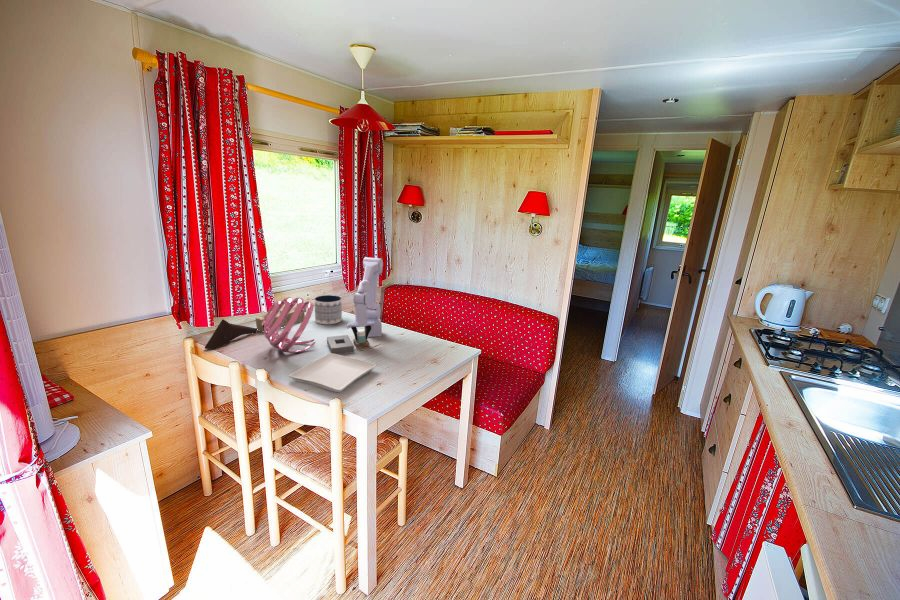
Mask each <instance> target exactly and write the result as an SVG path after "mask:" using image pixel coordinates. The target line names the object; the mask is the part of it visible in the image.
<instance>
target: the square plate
mask: <svg viewBox="0 0 900 600" xmlns="http://www.w3.org/2000/svg"><path fill="white" fill-rule="evenodd" d="M376 366H377V364H376V363H373V362H369V361H366V360H363V359H362V360H361V359H358V358H354V357H351V356H346V355H343V354H333V353H331V352H329V353H326V354H325V355H323V356H320V357H319V358H317V359H315V360H314V361H311V362H310V363H308V364H306V365H304V366H302V367H300V368H299V369H297V370H295V371H293V372H291V373H290V374H288V375H287V377H289V378H290V379H293V380H295V381H296V382H300V383H304V384H308V385H312V386H316V387H319V388H322V389H325V390H329V391H331V392H335V393H340V392H342V391H343V390H345V389H346V388H348V387H349V386H350V385H352V384H353V383H355V382H356V381H357V380H359V379H360V378H362V377H363V376H365V375H366V374H368V373H369V372H371V371H372V370H373V369H375V368H376Z"/></svg>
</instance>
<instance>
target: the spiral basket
mask: <svg viewBox="0 0 900 600" xmlns="http://www.w3.org/2000/svg"><path fill="white" fill-rule="evenodd" d="M293 307H296V308H295V311H294V313H293V315H292V317H291V318H290V320H289V322H288V324H287V325H286V327H283V330H282V331H281V333H280V334H279V330H280V329H281V328H280V327H281V325H282V323H283V321H284V320H285V318H286V317H287V315H288V314H289V312H290V311H291V309H292V308H293ZM305 309H306V312H305V313H306V314H305V317H304V319H303V321H301V322H300V325H299V327H298V329H297V330H296V332H295V334H294V335H293V336H292V337H291V338H288V337H289V334H290V333H291V330H292V329H293V326H294V325H295V324H296V323H295V322H296V320H297V319H298V317H299V316H300V314H301V313H302V312H303V311H304V310H305ZM280 311H282V312H281V313H280ZM313 311H314V303H312V301H309V300H307V301H305V302H304V299H303V298H302V297H300V296H299V297H298V296H297V297H296V298H294V299H293V297H290V296H288V297H285V298H284V299H283V300H282V301H281V300H280V299H279V300H277V301H275V302H274V303H273V304H272V306H270V307H269V309H268V311H267V312H266V314H265V315H263V316H264V319H263V323H262V327H263V329H264V332H263V336H264V338H265V339H266V340H267V341H268V342H269V345H270V346H271V347H272V348H275V349H277V350H278V351H280V352H282V353H287V354H298V353H302V352H305V351H308V350H310V348H312V347H313V346H314V345H315V343H316V341H315V339H310V340H299V338H300V337H301V335H302V334H303V333H304V331H305V329H306V327H307V325H308V324H309V321H310V319H311V318H312V314H313ZM278 313H280V315H279V317H278V318H277V320H276V322H275V323H274V325H273V326H272V327H271V328H270V326H271V324H272V322H273V320H274V319H275V317H276V315H277V314H278ZM269 314H270V315H269ZM268 316H269V317H268ZM294 323H295V324H294ZM312 342H313V343H312ZM309 343H311V344H310V345H309V346H307V347H305V348H303V349H300V350H291V349H292V348H293V347H294V345H305V344H309ZM285 344H286V345H285Z"/></svg>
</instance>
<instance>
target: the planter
mask: <svg viewBox="0 0 900 600" xmlns="http://www.w3.org/2000/svg"><path fill="white" fill-rule="evenodd" d="M313 301H314V303H313V305H314V322H316V323H317V324H321V325H334V324H338V323H340V322H341V321H342V320H343V317H342V316H343V310H342V308H343V307H342V297H341V296H339V295H334V294H325V295H319V296H316V297H315V298H314V300H313Z"/></svg>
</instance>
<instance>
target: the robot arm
mask: <svg viewBox="0 0 900 600" xmlns="http://www.w3.org/2000/svg"><path fill="white" fill-rule="evenodd" d="M362 266H363V270H364V273H363V279H362V280H360V281H359V284H358V287H357V291H356V292H355V293H354V294H353V307H354V308H355V309H354V310H355V321H354V322H351V323H347V324H346V329H351V330H352V332H353V335H354V339H355V340H356V341H357V330H358V328H364V329H363V330H364V331H365V336H366V340H368V338H372V337H382V325H383V324H382V320H381V319H380V318H381V306H380V305H379V304H378V303H377V296H378V288H379V287H378V285H379V277H380V275H381V274H382V273H383V267H384V262H383V258H381V257H380V258H379V257H366V256H365V257H364V258H363V261H362Z"/></svg>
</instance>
